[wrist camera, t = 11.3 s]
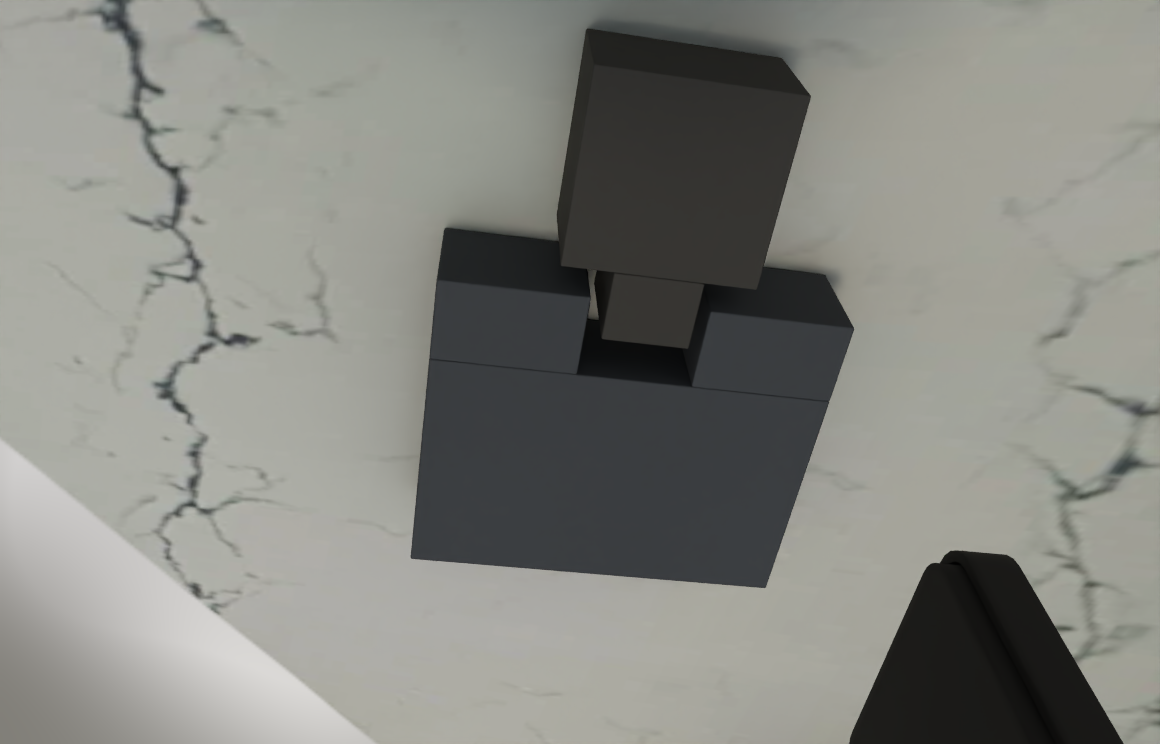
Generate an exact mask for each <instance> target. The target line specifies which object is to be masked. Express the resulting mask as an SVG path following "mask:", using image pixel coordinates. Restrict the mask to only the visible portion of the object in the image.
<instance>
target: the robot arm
mask: <svg viewBox="0 0 1160 744" xmlns="http://www.w3.org/2000/svg"><path fill="white" fill-rule="evenodd" d="M849 744H1123V742H1122V740H1121V739H1120V737H1119V735H1118V733H1117V732H1116V730H1115V728H1114V727H1113V725H1112V723H1111V721H1110V720H1109V718H1108V716H1107V715H1106V713H1105V711H1104V710H1103V708H1102V706H1101V704H1100V703H1099V701H1098V699H1097V698H1096V696H1095V694H1094V692H1093V691H1092V689H1091V687H1090V686H1089V684H1088V682H1087V681H1086V679H1085V677H1084V675H1083V674H1082V672H1081V670H1080V669H1079V667H1078V665H1077V663H1076V662H1075V660H1074V658H1073V657H1072V655H1071V653H1070V652H1069V650H1068V648H1067V646H1066V645H1065V643H1064V641H1063V640H1062V638H1061V636H1060V634H1059V633H1058V631H1057V629H1056V628H1055V626H1054V624H1053V623H1052V621H1051V619H1050V617H1049V616H1048V614H1047V612H1046V611H1045V609H1044V607H1043V605H1042V604H1041V602H1040V600H1039V599H1038V597H1037V595H1036V594H1035V592H1034V590H1033V588H1032V587H1031V585H1030V583H1029V582H1028V580H1027V578H1026V576H1025V575H1024V573H1023V571H1022V570H1021V568H1020V566H1019V565H1018V564H1017V563H1016V561H1015V560H1014V559H1013V558H1011V557H1009V556H1007V555H1002V554H990V553H979V552H968V551H950V552H949V553H947V554H946V555H945V556H944V557H943V559H942V561H941V562H940V563H932V564H930V565H929V566H928V567H927V568H926V570H925V571H924V573H923V575H922V577H921V580H920V582H919V584H918V586H917V589H916V591H915V593H914V595H913V598H912V600H911V602H910V604H909V606H908V609H907V611H906V613H905V615H904V618H903V620H902V622H901V624H900V627H899V629H898V631H897V633H896V635H895V638H894V640H893V642H892V644H891V647H890V649H889V651H888V653H887V656H886V658H885V660H884V662H883V665H882V667H881V669H880V671H879V673H878V676H877V678H876V680H875V682H874V685H873V687H872V689H871V691H870V694H869V696H868V698H867V700H866V703H865V705H864V707H863V709H862V711H861V714H860V716H859V718H858V720H857V723H856V725H855V727H854V729H853V732H852V734H851V738H850V743H849Z"/></svg>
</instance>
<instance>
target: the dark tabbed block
mask: <svg viewBox="0 0 1160 744" xmlns="http://www.w3.org/2000/svg"><path fill="white" fill-rule="evenodd" d="M810 98H811V96H810V94H809V93H808V92H807V90H806V89H805V88H804V86H803V85H802V84H801V82H800V81H799V80H798V78H797V77H796V76H795V75H794V73H793V72H792V71H791V69H790V68H789V67H788V65H787V64H786V63H785V61H784V60H783V59H782V58H778V57H771V56H764V55H758V54H751V53H745V52H738V51H731V50H725V49H718V48H712V47H705V46H698V45H692V44H685V43H679V42H672V41H665V40H659V39H652V38H646V37H639V36H632V35H626V34H619V33H612V32H606V31H599V30H593V29H587V30H586V35H585V41H584V47H583V53H582V60H581V66H580V72H579V79H578V85H577V91H576V97H575V104H574V110H573V116H572V123H571V129H570V135H569V142H568V148H567V154H566V160H565V167H564V173H563V179H562V186H561V192H560V198H559V204H558V211H557V223H558V237H559V251H560V264H561V266H567V267H575V268H583V269H591V270H597V272H596V277H595V282H594V285H595V292H596V300H597V308H598V316H599V323H600V331H601V338H602V339H607V340H616V341H624V342H633V343H642V344H651V345H660V346H668V347H677V348H686V349H687V348H689V344H690V340H691V336H692V332H693V328H694V324H695V320H696V316H697V312H698V308H699V304H700V300H701V296H702V292H703V288H704V283H706V284H714V285H722V286H730V287H739V288H747V289H755V290H756V289H757V287H758V283H759V280H760V276H761V273H762V269H763V266H764V262H765V258H766V255H767V251H768V248H769V244H770V241H771V237H772V234H773V230H774V226H775V223H776V219H777V216H778V212H779V209H780V205H781V201H782V198H783V194H784V191H785V187H786V184H787V180H788V177H789V173H790V169H791V166H792V162H793V159H794V155H795V152H796V148H797V144H798V141H799V137H800V134H801V130H802V127H803V123H804V120H805V116H806V112H807V109H808V105H809V102H810Z"/></svg>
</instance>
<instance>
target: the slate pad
mask: <svg viewBox="0 0 1160 744" xmlns="http://www.w3.org/2000/svg"><path fill="white" fill-rule="evenodd" d="M590 300H591V297H590V289H589V280H588V272H587V269H583V268H575V267H567V266H561V264H560V251H559V242H552V241H544V240H536V239H528V238H520V237H512V236H503V235H495V234H487V233H479V232H471V231H463V230H455V229H445V230H444V235H443V242H442V249H441V255H440V262H439V269H438V276H437V283H436V294H435V304H434V315H433V326H432V336H431V347H430V358H429V368H428V379H427V389H426V400H425V411H424V421H423V432H422V443H421V453H420V464H419V474H418V485H417V496H416V506H415V517H414V528H413V538H412V549H411V558H412V559H421V560H433V561H446V562H458V563H470V564H482V565H494V566H506V567H518V568H530V569H542V570H554V571H566V572H578V573H590V574H602V575H614V576H626V577H638V578H650V579H662V580H674V581H686V582H698V583H710V584H722V585H734V586H746V587H759V588H766V585H767V582H768V579H769V576H770V574H771V571H772V568H773V565H774V562H775V559H776V556H777V553H778V550H779V547H780V544H781V541H782V538H783V536H784V533H785V530H786V527H787V524H788V521H789V518H790V515H791V512H792V509H793V506H794V503H795V500H796V498H797V495H798V492H799V489H800V486H801V483H802V480H803V477H804V474H805V471H806V468H807V465H808V462H809V460H810V457H811V454H812V451H813V448H814V445H815V442H816V439H817V436H818V433H819V430H820V427H821V425H822V422H823V419H824V416H825V413H826V410H827V407H828V404H829V401H830V398H831V395H832V392H833V390H834V387H835V384H836V381H837V378H838V375H839V372H840V369H841V366H842V363H843V360H844V357H845V354H846V352H847V349H848V346H849V343H850V340H851V337H852V334H853V331H854V327H853V325H852V324H851V322H850V320H849V318H848V316H847V314H846V313H845V311H844V309H843V307H842V305H841V303H840V302H839V300H838V298H837V296H836V294H835V292H834V291H833V289H832V287H831V285H830V283H829V281H828V280H827V278H826V276H825V275H821V274H813V273H804V272H796V271H788V270H780V269H772V268H764V267H763V269H762V273H761V276H760V280H759V283H758V287H757V289H756V290H755V289H747V288H739V287H730V286H722V285H714V284H706V283H704V288H703V292H702V296H701V300H700V304H699V308H698V312H697V316H696V320H695V324H694V328H693V332H692V336H691V340H690V344H689V348H687V349H686V348H677V347H668V346H660V345H651V344H642V343H633V342H624V341H616V340H607V339H602V338H601V331H600V323H599V321H593V320H587V316H588V311H589V305H590Z"/></svg>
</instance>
